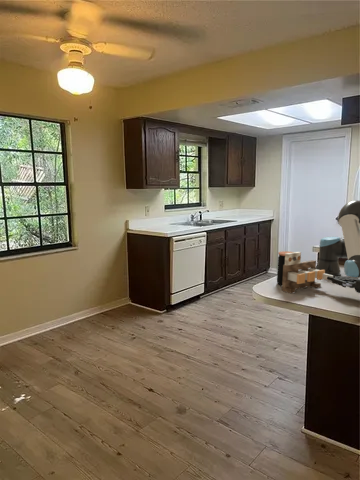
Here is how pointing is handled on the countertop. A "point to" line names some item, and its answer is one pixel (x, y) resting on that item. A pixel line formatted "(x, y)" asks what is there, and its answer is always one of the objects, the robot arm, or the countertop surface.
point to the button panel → (294, 265)
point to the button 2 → (317, 273)
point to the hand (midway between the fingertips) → (323, 276)
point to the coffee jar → (281, 266)
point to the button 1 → (296, 277)
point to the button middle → (308, 275)
